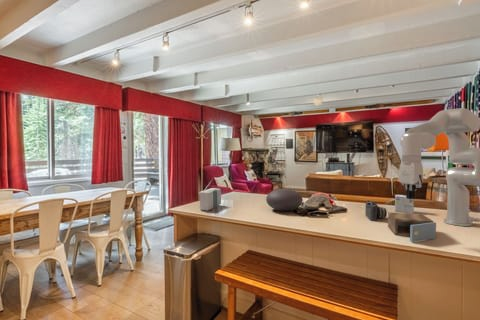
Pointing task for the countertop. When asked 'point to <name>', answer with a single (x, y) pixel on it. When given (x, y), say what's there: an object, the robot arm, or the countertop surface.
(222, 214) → the countertop surface
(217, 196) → the stereo radio cassette player
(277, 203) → the smooth stone
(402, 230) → the walnut case
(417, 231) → the case door
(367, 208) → the camera
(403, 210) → the light bulb box
